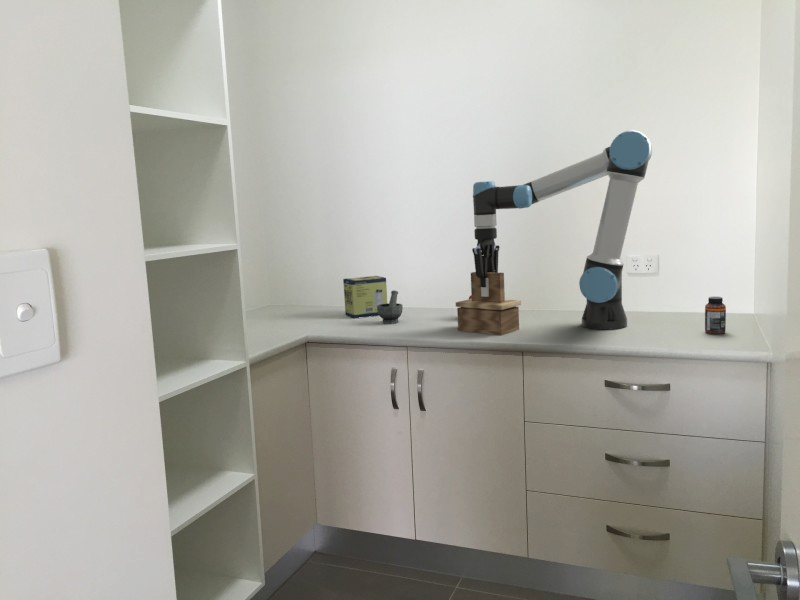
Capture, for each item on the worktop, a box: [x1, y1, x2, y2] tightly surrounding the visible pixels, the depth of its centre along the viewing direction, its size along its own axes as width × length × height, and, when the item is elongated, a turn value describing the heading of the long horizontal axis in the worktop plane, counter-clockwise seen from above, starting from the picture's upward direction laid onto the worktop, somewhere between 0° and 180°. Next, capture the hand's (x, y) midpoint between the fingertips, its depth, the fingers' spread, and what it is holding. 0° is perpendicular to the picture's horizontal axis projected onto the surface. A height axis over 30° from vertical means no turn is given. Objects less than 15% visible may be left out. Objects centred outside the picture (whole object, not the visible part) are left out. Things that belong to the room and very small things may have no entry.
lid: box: [455, 271, 522, 311], centre depth 233 cm, size 19×12×12 cm, turn 49°
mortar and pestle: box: [377, 290, 404, 325], centre depth 259 cm, size 11×9×12 cm
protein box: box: [342, 275, 388, 319], centre depth 280 cm, size 10×16×16 cm
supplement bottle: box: [704, 296, 727, 335], centre depth 212 cm, size 6×6×11 cm
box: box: [456, 306, 520, 336], centre depth 234 cm, size 18×11×8 cm, turn 49°
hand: (487, 295), depth 233 cm, fingers closed on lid, 2 cm apart
